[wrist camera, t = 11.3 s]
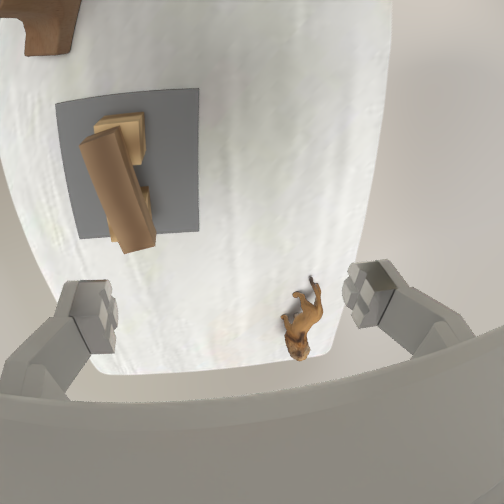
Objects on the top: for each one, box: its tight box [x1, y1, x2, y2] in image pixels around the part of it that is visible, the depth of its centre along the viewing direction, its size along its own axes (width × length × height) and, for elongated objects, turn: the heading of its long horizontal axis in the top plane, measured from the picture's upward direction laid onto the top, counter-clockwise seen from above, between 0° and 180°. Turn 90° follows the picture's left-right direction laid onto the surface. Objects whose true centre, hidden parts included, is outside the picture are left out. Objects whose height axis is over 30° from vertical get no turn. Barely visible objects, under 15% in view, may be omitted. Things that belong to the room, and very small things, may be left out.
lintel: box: [79, 125, 156, 254], centre depth 32 cm, size 4×14×3 cm, turn 9°
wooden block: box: [0, 0, 81, 57], centre depth 16 cm, size 9×4×18 cm, turn 165°
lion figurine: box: [281, 277, 323, 361], centre depth 56 cm, size 15×5×9 cm, turn 169°
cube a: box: [94, 112, 146, 165], centre depth 32 cm, size 5×5×5 cm
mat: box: [55, 88, 199, 239], centre depth 37 cm, size 20×18×1 cm
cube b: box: [106, 186, 152, 242], centre depth 38 cm, size 5×5×5 cm
